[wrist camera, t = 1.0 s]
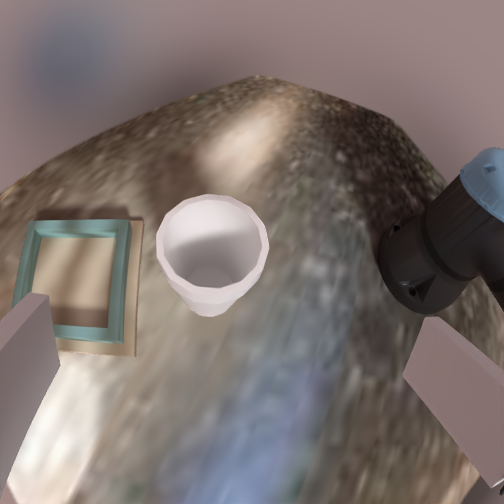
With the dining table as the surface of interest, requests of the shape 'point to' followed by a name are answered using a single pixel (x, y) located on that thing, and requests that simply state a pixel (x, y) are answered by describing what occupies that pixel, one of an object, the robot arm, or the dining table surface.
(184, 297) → the foam cup
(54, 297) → the plate
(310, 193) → the dining table surface
